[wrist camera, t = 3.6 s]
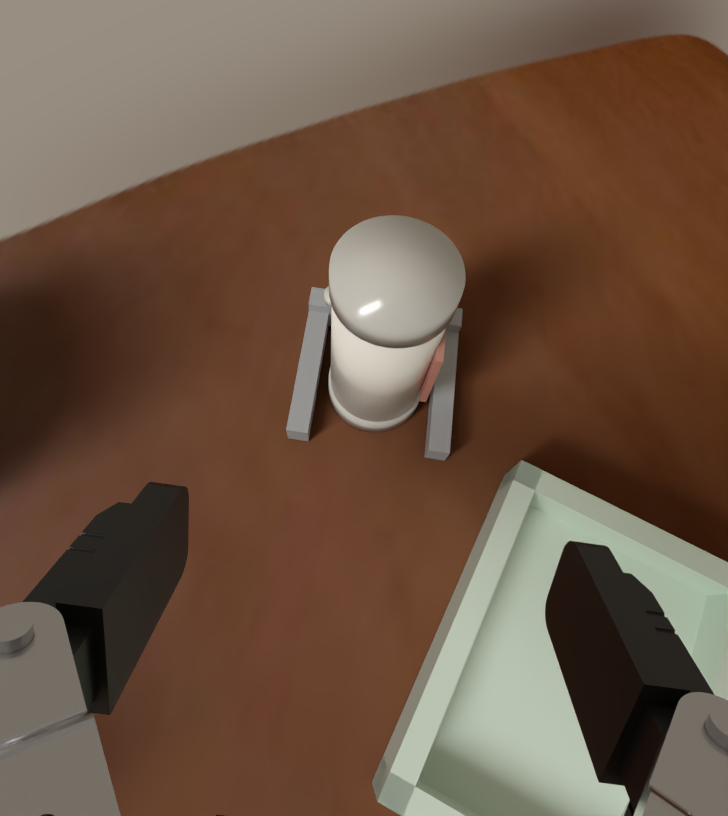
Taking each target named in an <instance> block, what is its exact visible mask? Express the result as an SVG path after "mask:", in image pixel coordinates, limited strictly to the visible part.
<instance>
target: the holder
mask: <svg viewBox="0 0 728 816" xmlns="http://www.w3.org/2000/svg"><path fill="white" fill-rule="evenodd" d="M331 309H332V305H331V302H330V297H329V286H328V287H327V288H326V289H321V288H314V287H312V289H311V294H310V300H309V313H308V319H307V324H306V329H305V334H304V339H303V345H302V350H301V355H300V360H299V366H298V371H297V376H296V381H295V387H294V392H293V397H292V402H291V408H290V413H289V418H288V423H287V429H286V431H287V436H288V438H289V439H297V440H304V441H309V436H310V430H311V425H312V419H313V413H314V407H315V402H316V396H317V390H318V384H319V379H320V373H321V367H322V361H323V356H324V350H325V344H326V338H327V333H328V327H329V326H331ZM462 313H463V309H460V308H457V309H456V312H455V314H454V316H453V318H452V320H451V322H450V323H449V324H448V326H447V327H446V336H445V348H444V360H443V364H442V366H441V369H440V371H439V373H438V376H437V378H436V380H435V382H434V385H433V387H432V389H431V392H430V400H429V411H428V422H427V433H426V443H425V454H424V458H431V459H438V460H445V459H446V458H447V457H448V455H449V454H450V445H451V431H452V418H453V404H454V391H455V377H456V364H457V351H458V337H459V331H460V328H461V326H462Z"/></svg>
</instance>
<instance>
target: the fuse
mask: <svg viewBox="0 0 728 816" xmlns="http://www.w3.org/2000/svg"><path fill="white" fill-rule="evenodd" d="M465 281H466V273H465V266H464V263H463V260H462V257H461V255H460V253H459V251H458V249H457V248H456V246H455V245H454V243H453V242H452V241H451V240H450V239H449V238H448V237H447V236H446V235H445V234H444V233H443V232H441V231H440V230H439V229H437V228H436V227H434V226H432V225H430V224H428V223H426V222H424V221H421V220H418V219H415V218H411V217H406V216H397V215H390V216H380V217H375V218H371V219H368V220H365V221H363V222H361V223H359V224H357V225H355V226H354V227H352V228H351V229H349V230H348V231H347V232H346V233H345V234H344V235H343V236H342V237H341V238H340V239H339V241H338V242H337V244H336V245H335V247H334V249H333V252H332V254H331V258H330V264H329V297H330V302H331V305H332V309H331V367H330V371H329V383H328V388H329V397H330V401H331V404H332V406H333V408H334V410H335V411H336V413H337V414H338V415H339V416H340V418H341V419H342V420H344V421H345V422H346V423H347V424H349V425H350V426H352V427H354V428H356V429H359V430H362V431H367V432H385V431H389V430H392V429H395V428H397V427H399V426H400V425H402V424H404V423H405V422H406V421H407V420H408V419H409V418H410V417H411V416H412V414H413V413H414V412H415V410H416V408H417V405H418V403H419V401H422V402H426V401H427V398H428V396H429V394H430V392H431V389H432V387H433V385H434V382H435V380H436V378H437V376H438V373H439V371H440V369H441V366H442V364H443V360H444V348H445V336H446V327H447V326H448V324H449V323H450V322H451V320H452V318H453V316H454V314H455V312H456V309H457V307H458V304H459V302H460V299H461V297H462V294H463V291H464V288H465Z"/></svg>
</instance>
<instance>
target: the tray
mask: <svg viewBox="0 0 728 816" xmlns="http://www.w3.org/2000/svg"><path fill="white" fill-rule="evenodd" d="M569 541H575V542H583V543H590V544H597V545H604V546H607V547H608V548H609V549H610V550H611V552H612V554H613V555H614V557H615V559H616V561H617V562H618V564H619V566H620V568H621V569H622V571H623V573H630V574H632V575H633V576H635V577H636V578H637V579H638V580H639V581H640V582H641V583H642V584H643V585H644V586H645V587H647V588H648V589H649V590H650V591H651V592H652V593H653V595H654V596H655V598H656V600H657V601H658V603H659V605H660V606H661V608H662V610H663V611H664V613H665V614H664V616H665V617H667V618H668V619H669V621H670V623H671V624H672V626H673V628H674V629H675V634H677V635H678V636H679V637H680V639H681V641H682V642H683V644H684V645H685V647H686V649H687V650H688V652H689V654H690V655H691V657H692V659H693V660H694V662H695V663H696V665H697V667H698V668H699V670H700V672H701V673H702V675H703V677H704V678H705V680H706V681H707V683H708V685H709V686H710V688H711V690H712V691H713V693H714V695H716V696H719V697H721V698H724V699H726V700H728V562H726V561H724V560H722V559H720V558H718V557H716V556H714V555H712V554H710V553H708V552H706V551H704V550H702V549H700V548H698V547H696V546H694V545H692V544H690V543H688V542H686V541H684V540H682V539H680V538H678V537H676V536H674V535H672V534H670V533H668V532H666V531H664V530H662V529H660V528H658V527H656V526H654V525H652V524H650V523H648V522H646V521H644V520H642V519H640V518H638V517H636V516H634V515H632V514H630V513H628V512H626V511H624V510H622V509H620V508H617V507H615V506H613V505H611V504H609V503H607V502H605V501H603V500H601V499H599V498H597V497H595V496H593V495H591V494H589V493H587V492H585V491H583V490H581V489H579V488H577V487H575V486H573V485H571V484H569V483H567V482H565V481H563V480H561V479H559V478H557V477H555V476H553V475H551V474H549V473H547V472H545V471H543V470H541V469H539V468H537V467H535V466H533V465H531V464H529V463H527V462H525V461H523V460H521V461H520V462H519V463H518V464H517V465H515V466H514V467H513V468H512V469H511V470H510V471H508V472H507V473H506V474H505V475H504V477H503V479H502V482H501V484H500V486H499V489H498V491H497V493H496V495H495V498H494V500H493V502H492V505H491V507H490V509H489V512H488V514H487V516H486V519H485V521H484V523H483V526H482V528H481V530H480V533H479V535H478V537H477V540H476V542H475V544H474V547H473V549H472V551H471V553H470V556H469V558H468V560H467V563H466V565H465V567H464V570H463V572H462V574H461V577H460V579H459V581H458V584H457V586H456V588H455V591H454V593H453V595H452V598H451V600H450V602H449V604H448V607H447V609H446V611H445V614H444V616H443V618H442V621H441V623H440V625H439V628H438V630H437V632H436V635H435V637H434V639H433V642H432V644H431V646H430V649H429V651H428V653H427V655H426V658H425V660H424V662H423V665H422V667H421V669H420V672H419V674H418V676H417V679H416V681H415V683H414V686H413V688H412V690H411V693H410V695H409V697H408V700H407V702H406V704H405V707H404V709H403V711H402V713H401V716H400V718H399V720H398V723H397V725H396V727H395V730H394V732H393V734H392V737H391V739H390V741H389V744H388V746H387V748H386V751H385V753H384V755H383V758H382V760H381V762H380V764H379V767H378V769H377V771H376V774H375V776H374V778H373V781H372V785H373V788H374V792H375V795H376V799H377V802H379V803H380V804H382V805H384V806H385V807H387V808H389V809H391V810H392V811H394V812H396V813H397V814H399V815H401V816H622V813H623V811H624V809H625V807H626V805H627V803H628V801H629V797H628V794H627V791H626V789H625V786H622V785H614V784H607V783H599V782H598V779H597V776H596V773H595V770H594V767H593V764H592V761H591V758H590V755H589V752H588V749H587V746H586V743H585V740H584V737H583V734H582V731H581V728H580V725H579V722H578V719H577V716H576V714H575V711H574V708H573V705H572V702H571V699H570V696H569V693H568V690H567V687H566V684H565V681H564V678H563V675H562V672H561V669H560V666H559V663H558V660H557V657H556V654H555V651H554V648H553V645H552V642H551V639H550V636H549V633H548V630H547V626H546V620H545V606H546V600H547V596H548V593H549V590H550V587H551V584H552V581H553V578H554V575H555V572H556V569H557V566H558V563H559V560H560V557H561V554H562V551H563V549H564V546H565V545H566V543H567V542H569Z"/></svg>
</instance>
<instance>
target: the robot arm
mask: <svg viewBox="0 0 728 816" xmlns="http://www.w3.org/2000/svg"><path fill="white" fill-rule="evenodd" d="M188 513H189V495H188V489H187V488H186V487H184V486H177V485H169V484H162V483H155V482H149V483H148V484H147V485H146V486H145V487H144V488H143V490H142V491H141V492H140V494H139V495H138V496H137V497H136V499H135V500H134V501H133V503H132V504H129V503H121V502H118V503H117V504H115V505H113V506H111V507H110V508H108V509H106V510H105V511H103V512H101V513H99V514H98V515H96V516H95V517H94V519H93V520H92V521H91V522H90V523H89V525H88V526H87V527H86V528H85V529H84V530H83V532H82V535H81V536H78V537H77V539H76V540H75V541H74V542H73V543H72V545H71V546H70V549H69V550H66V552H65V553H64V554H63V555H62V556H61V557H60V559H59V560H58V561H57V562H56V563H55V565H54V566H53V567H52V568H51V569H50V570H49V572H48V573H47V574H46V575H45V576H44V577H43V579H42V580H41V581H40V582H39V583H38V584H37V586H36V587H35V588H34V589H33V590H32V592H31V593H30V594H29V595H28V596H27V597H26V599H25V600H24V601H23V602H21V603H15V604H10V605H6V606H3V607H0V816H121V815H120V812H119V808H118V804H117V800H116V797H115V793H114V789H113V785H112V782H111V778H110V774H109V771H108V767H107V763H106V759H105V756H104V752H103V748H102V744H101V741H100V737H99V733H98V729H97V726H96V722H95V719H94V716H93V713H99V714H107V715H110V714H111V712H112V710H113V708H114V706H115V705H116V703H117V701H118V699H119V697H120V695H121V693H122V691H123V689H124V687H125V685H126V683H127V681H128V679H129V677H130V675H131V673H132V672H133V670H134V668H135V666H136V664H137V662H138V660H139V658H140V656H141V654H142V652H143V650H144V648H145V646H146V644H147V642H148V640H149V639H150V637H151V635H152V633H153V631H154V629H155V627H156V625H157V623H158V621H159V619H160V617H161V615H162V613H163V611H164V609H165V607H166V606H167V604H168V602H169V600H170V598H171V596H172V594H173V592H174V590H175V588H176V586H177V584H178V582H179V580H180V578H181V576H182V574H183V571H184V568H185V564H186V560H187V554H188ZM664 614H665V613H664V611H663V610H662V608H661V606H660V605H659V603H658V601H657V600H656V598H655V596H654V595H653V593H652V592H651V591H650V590H649V589H648V588H647V587H645V586H644V585H643V584H642V583H641V582H640V581H639V580H638V579H637V578H636V577H635V576H633V575H632V574H630V573H623V571H622V569H621V568H620V566H619V564H618V562H617V561H616V559H615V557H614V555H613V554H612V552H611V550H610V549H609V548H608V547H607V546H604V545H597V544H590V543H583V542H575V541H569V542H567V543H566V545H565V546H564V549H563V551H562V554H561V557H560V560H559V563H558V566H557V569H556V572H555V575H554V578H553V581H552V584H551V587H550V590H549V593H548V596H547V600H546V606H545V620H546V626H547V630H548V633H549V636H550V639H551V642H552V645H553V648H554V651H555V654H556V657H557V660H558V663H559V666H560V669H561V672H562V675H563V678H564V681H565V684H566V687H567V690H568V693H569V696H570V699H571V702H572V705H573V708H574V711H575V714H576V716H577V719H578V722H579V725H580V728H581V731H582V734H583V737H584V740H585V743H586V746H587V749H588V752H589V755H590V758H591V761H592V764H593V767H594V770H595V773H596V776H597V779H598V782H599V783H607V784H614V785H622V786H625V789H626V791H627V794H628V797H629V801H628V803H627V805H626V807H625V809H624V811H623V813H622V816H728V700H726V699H724V698H721V697H719V696H716V695H714V693H713V691H712V690H711V688H710V686H709V685H708V683H707V681H706V680H705V678H704V677H703V675H702V673H701V672H700V670H699V668H698V667H697V665H696V663H695V662H694V660H693V659H692V657H691V655H690V654H689V652H688V650H687V649H686V647H685V645H684V644H683V642H682V641H681V639H680V637H679V636H678V635H677V634H675V629H674V628H673V626H672V624H671V623H670V621H669V619H668V618H667V617H665V616H664ZM216 816H223V815H216Z"/></svg>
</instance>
